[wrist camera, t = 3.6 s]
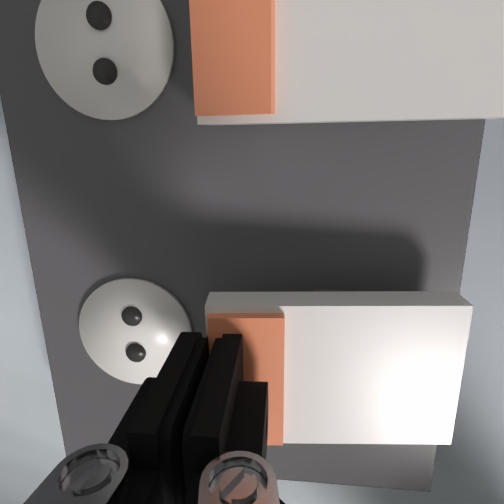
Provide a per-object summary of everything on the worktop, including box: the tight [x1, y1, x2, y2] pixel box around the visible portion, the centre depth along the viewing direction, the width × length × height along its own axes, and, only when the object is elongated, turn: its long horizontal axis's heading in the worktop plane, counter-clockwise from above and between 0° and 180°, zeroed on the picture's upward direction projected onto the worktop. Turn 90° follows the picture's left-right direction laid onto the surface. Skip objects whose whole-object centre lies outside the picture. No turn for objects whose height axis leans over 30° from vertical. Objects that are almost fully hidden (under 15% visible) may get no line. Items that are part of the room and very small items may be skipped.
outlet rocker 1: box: [189, 0, 504, 125], centre depth 9 cm, size 7×4×1 cm, turn 91°
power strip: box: [0, 0, 485, 492], centre depth 13 cm, size 14×39×4 cm, turn 1°
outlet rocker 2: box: [205, 291, 473, 446], centre depth 11 cm, size 7×4×1 cm, turn 91°
